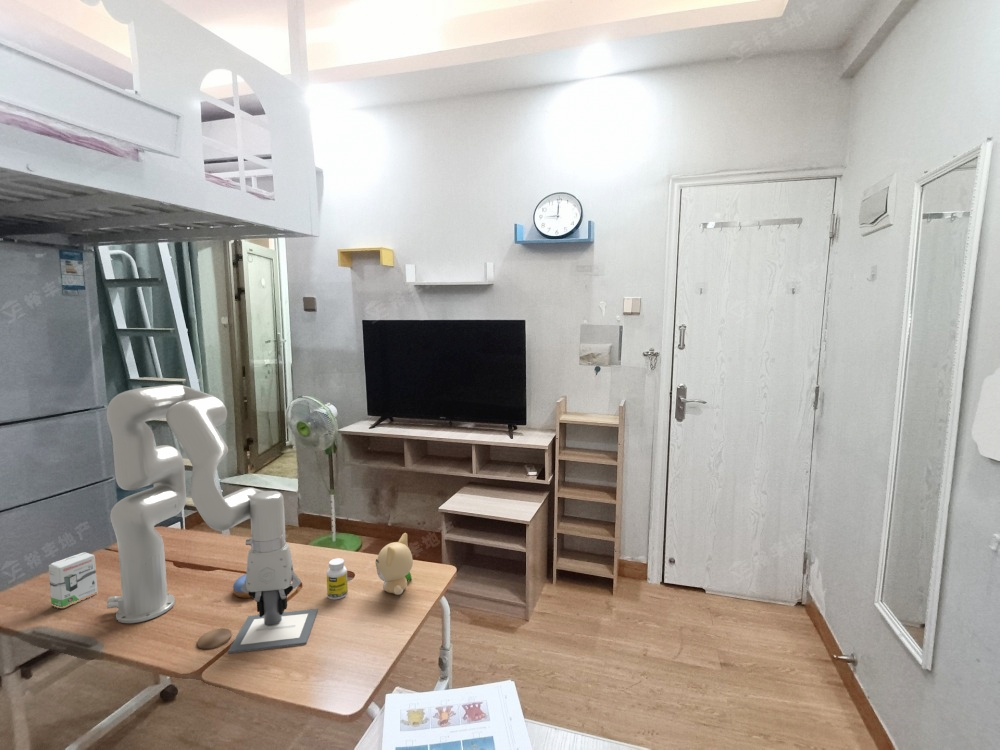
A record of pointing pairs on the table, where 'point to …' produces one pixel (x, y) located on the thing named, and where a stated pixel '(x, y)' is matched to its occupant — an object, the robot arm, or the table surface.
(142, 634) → the table surface
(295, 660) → the table surface
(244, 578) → the doughnut
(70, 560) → the ink box
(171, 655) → the table surface
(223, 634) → the coaster
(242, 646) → the grey picture frame
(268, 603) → the marker
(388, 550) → the kitten
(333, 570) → the supplement bottle
